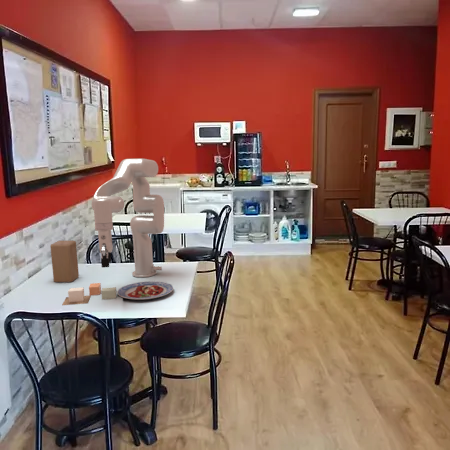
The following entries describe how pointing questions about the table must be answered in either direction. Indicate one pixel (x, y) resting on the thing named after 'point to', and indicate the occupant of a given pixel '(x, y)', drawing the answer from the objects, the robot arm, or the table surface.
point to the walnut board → (66, 302)
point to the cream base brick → (76, 294)
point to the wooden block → (64, 261)
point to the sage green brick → (109, 293)
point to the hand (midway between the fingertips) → (106, 264)
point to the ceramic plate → (145, 290)
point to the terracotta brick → (95, 289)
